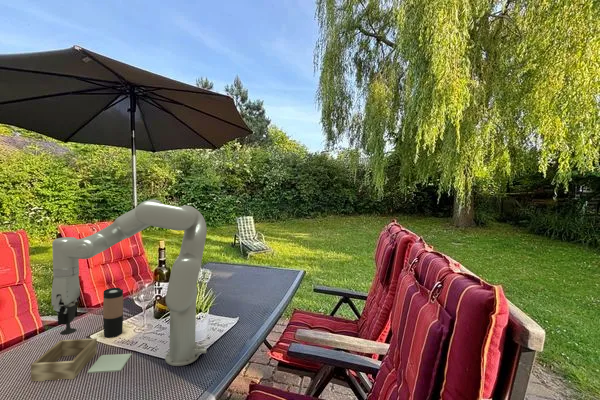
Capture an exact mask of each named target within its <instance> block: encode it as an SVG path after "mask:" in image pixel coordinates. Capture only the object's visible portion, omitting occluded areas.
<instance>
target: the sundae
mask: <svg viewBox="0 0 600 400" xmlns="http://www.w3.org/2000/svg"><path fill="white" fill-rule="evenodd" d="M60 305H64V303H61V304H60ZM76 306H77V307H78V306H79V301H77V302H76V303H75V300H74V301H72V302H71V303H69V304H68V308H67V313H68V318H69V323H68V324H65V329H64V330H61V331H60V332H59V334H60V335H61V336H67V335H72V334H73V333H76V332H77V329H76V328H71V322H73V321H74V320H75V318H76V317H75V312H76ZM61 308H63V309H64V306H61Z"/></svg>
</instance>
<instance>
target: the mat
mask: <svg viewBox="0 0 600 400" xmlns="http://www.w3.org/2000/svg"><path fill="white" fill-rule="evenodd" d="M132 355H133V354H132V353H120V354H119V353H118V354H116V353H115V354H101V355H100V356H99V358H97V360H95V362H94V363H93V364H92V366H90V368H89V369H88V371H87V374H98V373H99V374H100V373H103V374H104V373H114V372H115V373H116V372H122V371H123V369H124V367H125V366H126V364H127V363H128V361H129V360H130V358H131V357H132Z"/></svg>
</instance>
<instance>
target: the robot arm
mask: <svg viewBox="0 0 600 400" xmlns="http://www.w3.org/2000/svg"><path fill="white" fill-rule="evenodd" d="M150 226H151V227H155V228H161V229H166V230H172V231H178V232H179V231H181V232H182V231H183V237H182V240H181V246H180V251H179V254H178V257H177V258H176V260H175V261H174V263H173V265H172V267H171V272H170V276H169V280H168V283H167V288H166V293H165V304H166V306H167V308H168V309H169V351H168V352H167V353H166V354H165V357H164V361H165V363H166V364H167V365H170V366H173V367H174V366H175V367H181V366H186V365H189V364H192V363H194V362H195V361H196V360H198V359H199V356H200V354H207V351H208V349H207V347H205V345H197V344H198V342H197V341H196V328H197V327H196V322H197V321H196V319H197V298H198V297H197V296H198V288H197V287H198V286H197V284H198V283H197V282H198V277H199V274H200V271H201V269H202V261H203V256H204V255H203V254H204V250H205V245H206V239H207V230H208V229H207V223H206V220H205V218H204V216H203V214H202V213H201V212H200V211H199V210H198V209H197V208H195V207H193V206H192V205H181V206H175V205H170V204H165V203H163V202H162V201H160V200H158V199H149V200H145V201H142V202H140V203H139V204H138V205H137V206H136V207H135V208H133V209H131V210H129V211H127V212H125V213H124V214H123V213H122V214H121V215H120V216H118V217H117V218H116V219H115V220H114V221H113V222H112V223H110V224H109V225H108V226H106V227H105V228H102V229H101V230H99V231H97V232H95V233H93V234H91V235H90V234H89V235H88V236H86V237H81V238H77V237H74V236H72V237H71V236H67V237H66V236H65V237H59V238H55V239H53V241H52V267H53V268H52V271H53V272H52V275H53V280H52V287H51V306H52V307H53V308H52V309H53V310H54V311H55V312H56V314H57V324H58V326H59V325H66V324H68V323H69V318H68V313H67V308H68V304H69V303H71V302H72V301H74V300H75V303H76V302H79V297H80V296H81V290H80V289H81V286H80V276H79V275H80V260H88V259H91V258H93V257H95V256H97V255H98V254H99V255H100V254H101V253H103V252H104V251H106V250H108V249H109V248H111V247H113V246H115V245H117V244H118V243H120V242H122V241H123V240H126V239H129V238H131V237H132V236H135V235H137V234H138V233H140V232H142V231H143V230H145V229H147V228H149V227H150ZM61 303H64V305H60V304H61ZM61 306H64V309H63V308H61ZM76 317H78V305H77V306H76V312H75V318H76Z"/></svg>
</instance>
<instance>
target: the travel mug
mask: <svg viewBox="0 0 600 400" xmlns="http://www.w3.org/2000/svg"><path fill="white" fill-rule="evenodd" d="M102 311H103V314H102V315H103V317H102V318H103V319H102V320H103V337H104V338H106V339H113V338H117V337H119V336H121V335H122V334H123V330H124V329H123V327H124V326H123V325H124V289H123V288H120V287H111V288H106V289H105V290H103V310H102Z"/></svg>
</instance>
